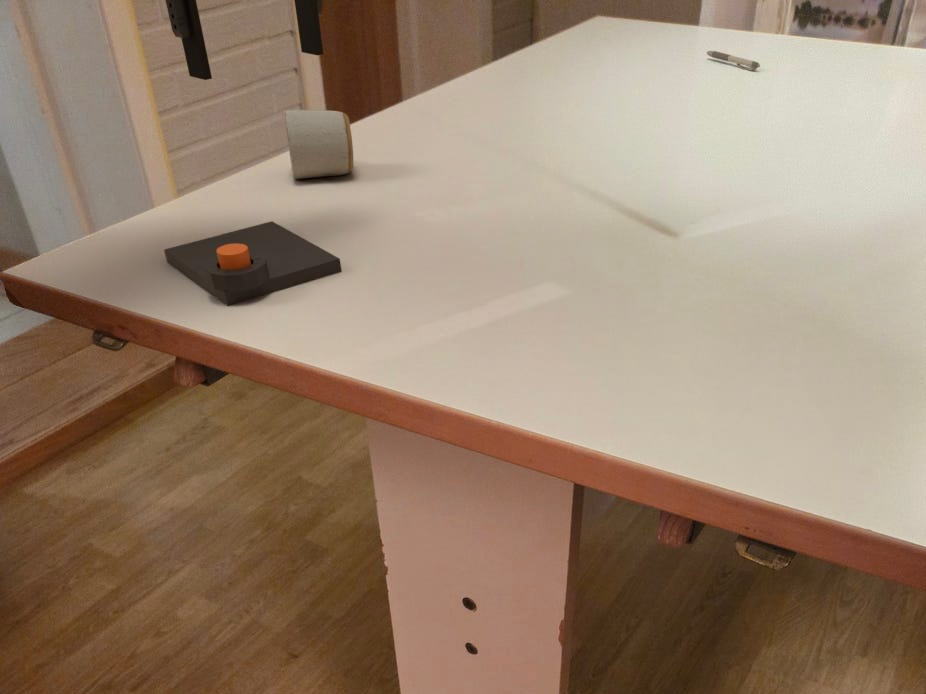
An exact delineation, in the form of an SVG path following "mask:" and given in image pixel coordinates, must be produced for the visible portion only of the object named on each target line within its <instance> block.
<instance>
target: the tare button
mask: <svg viewBox="0 0 926 694" xmlns="http://www.w3.org/2000/svg"><path fill="white" fill-rule="evenodd" d="M217 256H218V260H219V264H220V269H222V270H228V271H229V270H240V269H243V268H247V267H249V266H251V261H250V256H249V251H248V247H247V246H246V245H244V244H237V243H235V244H227V245H224V246H221V247H219V248H218V249H217Z"/></svg>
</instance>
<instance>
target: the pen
mask: <svg viewBox="0 0 926 694" xmlns="http://www.w3.org/2000/svg"><path fill="white" fill-rule="evenodd" d="M706 55H707V56H708V57H711V58H713V59H717V60H721V61H724V62H729V63H734V64H736V66H737V67H738V68H740V69H742V70H747V71H756V70H757V69H758V68H761V64H760V62H758V61H755V60H751V59H747V58H743V57H739V56H735V55H732V54H728V53H724V52H720V51H716V50H708V51H706Z"/></svg>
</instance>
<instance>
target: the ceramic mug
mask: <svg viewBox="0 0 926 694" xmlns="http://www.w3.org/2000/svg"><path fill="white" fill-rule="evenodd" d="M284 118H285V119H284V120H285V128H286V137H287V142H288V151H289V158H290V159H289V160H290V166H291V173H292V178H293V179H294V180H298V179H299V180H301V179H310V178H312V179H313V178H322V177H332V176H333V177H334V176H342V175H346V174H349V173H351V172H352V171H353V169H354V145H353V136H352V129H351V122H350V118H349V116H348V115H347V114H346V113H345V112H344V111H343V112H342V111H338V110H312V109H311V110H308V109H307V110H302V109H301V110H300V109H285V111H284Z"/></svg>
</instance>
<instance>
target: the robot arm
mask: <svg viewBox="0 0 926 694" xmlns="http://www.w3.org/2000/svg"><path fill="white" fill-rule="evenodd" d="M293 1H294V7H295V15H296V21H297V29H298V36H299V37H298V38H299V43H300V51H301V53H304V54H309V55H314V56H322V55H324V48H323V46H324V45H323V39H322V31H321V25H320V16H319V15H320V14H321V13H323V7H324V6H323V0H293ZM165 4H166V5H165V6H166V9H167V15H168V18H169V23H170V27H171V31H172V33H173V35H174V36H175V37H176V38H180V39H181V41H182V42H181V43H182V47H183V52H184V56H185V61H186V65H187V70H188V74H189V77H192V78H195V79H199V80H204V81H207V80H212V79H213V77H212V72H211V68H210V62H209V56H208V53H207V47H206V42H205V38H204V33H203V28H202V23H201V18H200V14H199V13H200V12H199V8H198V3H197V0H165Z"/></svg>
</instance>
